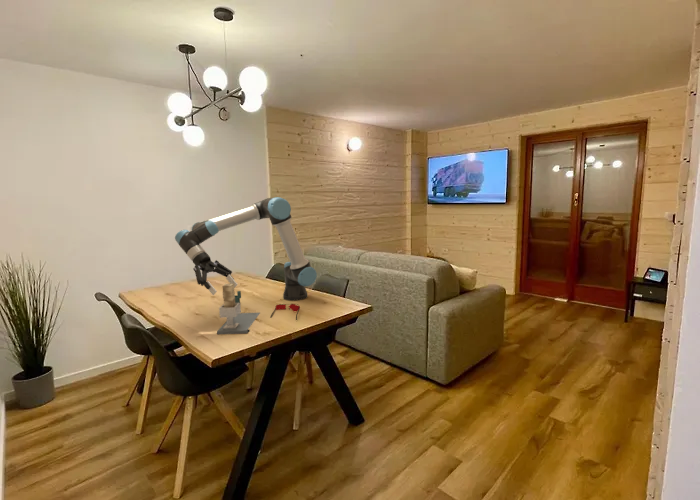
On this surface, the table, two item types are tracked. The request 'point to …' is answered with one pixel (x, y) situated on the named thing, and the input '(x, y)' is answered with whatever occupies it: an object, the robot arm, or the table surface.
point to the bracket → (238, 297)
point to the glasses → (292, 306)
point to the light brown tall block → (229, 295)
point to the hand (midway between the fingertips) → (225, 289)
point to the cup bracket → (230, 315)
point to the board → (244, 325)
